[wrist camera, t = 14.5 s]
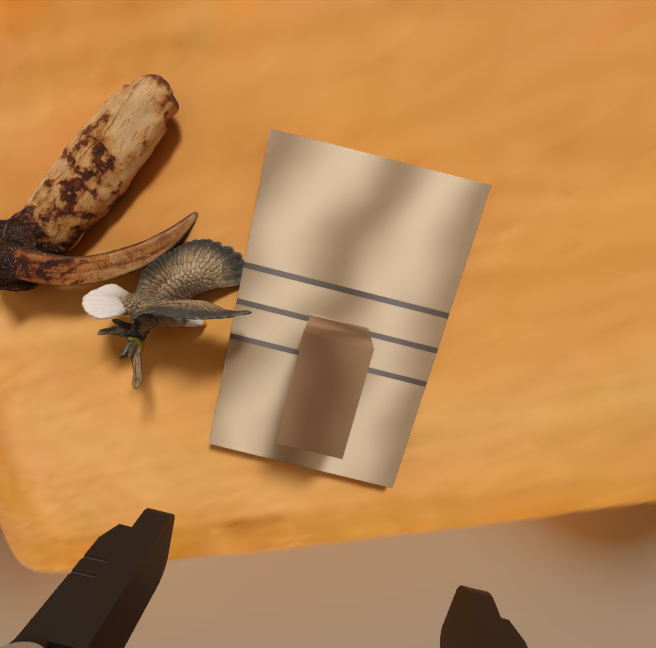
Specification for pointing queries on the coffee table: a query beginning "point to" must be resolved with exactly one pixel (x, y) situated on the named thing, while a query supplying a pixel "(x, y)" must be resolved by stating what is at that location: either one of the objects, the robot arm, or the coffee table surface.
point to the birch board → (344, 293)
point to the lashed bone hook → (91, 196)
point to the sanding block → (326, 386)
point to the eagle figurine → (168, 295)
